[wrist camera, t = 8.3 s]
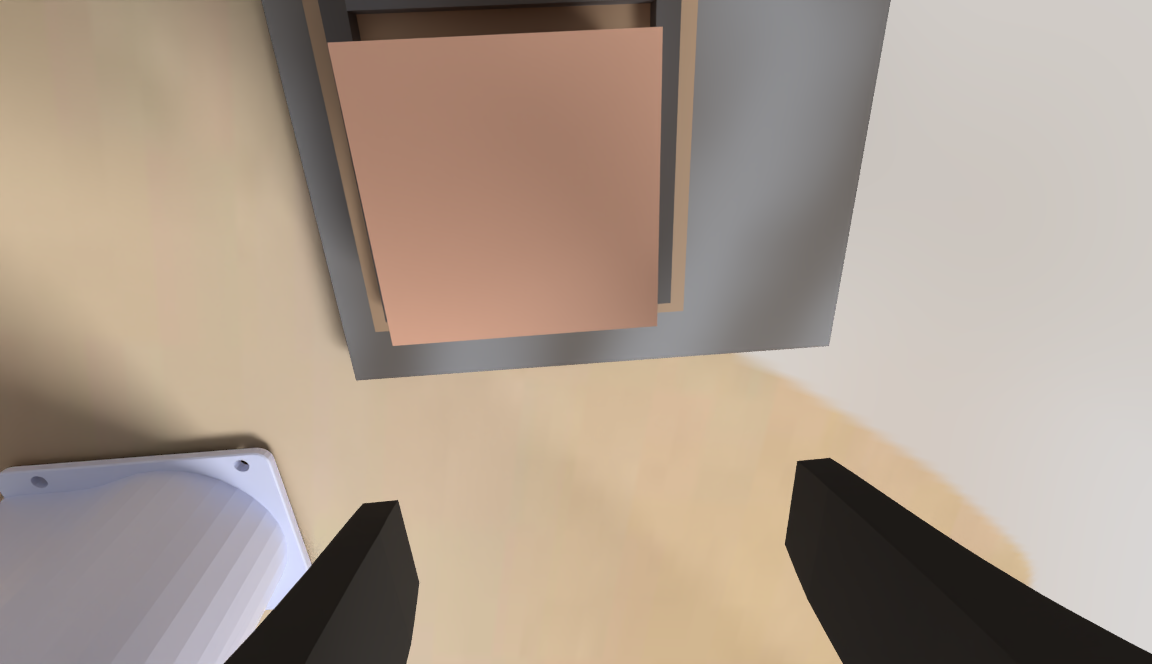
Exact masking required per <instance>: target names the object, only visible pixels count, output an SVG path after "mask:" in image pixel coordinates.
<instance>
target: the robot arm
mask: <svg viewBox="0 0 1152 664" xmlns="http://www.w3.org/2000/svg"><path fill="white" fill-rule="evenodd" d="M240 460H244V461H245V462H247V463H248V464H249V465H247V464H244V463H242V462H241V461H240ZM0 492H1V494H2V495H3V497H4V499H3V500H2V501H0V664H406V662H407V658H408V654H409V650H410V646H411V640H412V633H413V627H414V620H415V612H416V604H417V596H418V588H419V580H418V576H417V572H416V568H415V564H414V560H413V556H412V553H411V549H410V545H409V541H408V537H407V533H406V529H405V525H404V521H403V518H402V514H401V510H400V506H399V502H398V500H395V501H385V502H375V503H364V504H362V506H361V507H360V508H359V509H358V510H357V511H356V512H355V513H354V515H353V516H352V517H351V518H350V519H349V521H348V522H347V523H346V524H345V525H344V527H343V528H342V529H341V530H340V531H339V533H338V534H337V535H336V536H335V537H334V539H333V540H332V541H331V542H330V543H329V545H328V546H327V547H326V548H325V550H324V551H323V552H322V553H321V554H320V556H319V557H318V558H317V559H316V560H315V562H314V563H313V564H311V562H310V559H309V556H308V553H307V550H306V547H305V544H304V542H303V539H302V536H301V533H300V530H299V527H298V524H297V522H296V519H295V516H294V513H293V510H292V507H291V504H290V502H289V499H288V496H287V493H286V490H285V487H284V484H283V482H282V479H281V476H280V473H279V470H278V467H277V464H276V462H275V459H274V457H273V455H272V453H270V452H269V451H268V450H266V449H263V448H246V449H233V450H220V451H208V452H195V453H182V454H169V455H157V456H144V457H131V458H118V459H106V460H93V461H80V462H67V463H55V464H42V465H29V466H16V467H9V468H6V469H5V470H3V471H2V472H0ZM785 546H786V548H787V551H788V553H789V556H790V558H791V561H792V563H793V566H794V568H795V571H796V573H797V576H798V578H799V580H800V583H801V585H802V587H803V590H804V592H805V594H806V597H807V599H808V601H809V603H810V605H811V606H812V608H813V610H814V612H815V614H816V616H817V618H818V619H819V621H820V623H821V625H822V627H823V628H824V630H825V632H826V634H827V636H828V638H829V639H830V641H831V643H832V645H833V647H834V648H835V650H836V652H837V654H838V656H839V657H840V659H841V661H842V663H843V664H1152V654H1151V653H1149V652H1147V651H1145V650H1143V649H1141V648H1139V647H1137V646H1135V645H1133V644H1131V643H1129V642H1128V641H1126V640H1123V639H1122V638H1120V637H1118V636H1116V635H1114V634H1113V633H1111V632H1109V631H1107V630H1105V629H1103V628H1102V627H1100V626H1098V625H1096V624H1094V623H1092V622H1090V621H1089V620H1087V619H1085V618H1082V617H1081V616H1079V615H1077V614H1075V613H1074V612H1072V611H1070V610H1068V609H1066V608H1065V607H1063V606H1061V605H1059V604H1057V603H1056V602H1054V601H1052V600H1051V599H1049V598H1047V597H1045V596H1043V595H1041V594H1040V593H1038V592H1037V591H1035V590H1033V589H1031V588H1030V587H1028V586H1026V585H1025V584H1023V583H1022V582H1020V581H1018V580H1017V579H1015V578H1013V577H1012V576H1010V575H1008V574H1007V573H1005V572H1003V571H1002V570H1000V569H998V568H997V567H995V566H993V565H992V564H990V563H988V562H987V561H985V560H984V559H982V558H980V557H979V556H977V555H976V554H974V553H972V552H971V551H969V550H968V549H966V548H965V547H963V546H961V545H960V544H958V543H957V542H955V541H954V540H952V539H951V538H949V537H948V536H946V535H944V534H943V533H941V532H940V531H938V530H937V529H935V528H934V527H932V526H931V525H929V524H928V523H926V522H925V521H923V520H922V519H920V518H919V517H917V516H916V515H914V514H913V513H911V512H910V511H908V510H907V509H905V508H904V507H902V506H901V505H900V504H898V503H897V502H895V501H894V500H892V499H891V498H889V497H888V496H886V495H885V494H883V493H882V492H880V491H879V490H878V489H876V488H875V487H873V486H872V485H870V484H869V483H867V482H866V481H864V480H863V479H861V478H860V477H858V476H857V475H855V474H854V473H853V472H851V471H850V470H848V469H846V468H845V467H843V466H842V465H840V464H839V463H837V462H836V461H834V460H832V459H831V458H824V459H814V460H804V461H797V466H796V473H795V480H794V487H793V493H792V500H791V507H790V513H789V520H788V527H787V534H786V540H785ZM269 609H273V610H272V612H271V613H270V614H269V615H268V616H267V617H266V618H265V619H264V621H263V622H262V623H261V624H260V625H259V626H258V627H257V625H258V623H259V621H260V619H261V617H262V615H263V613H264V611H265V610H269ZM256 627H257V628H256Z"/></svg>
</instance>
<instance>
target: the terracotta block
mask: <svg viewBox="0 0 1152 664" xmlns="http://www.w3.org/2000/svg"><path fill="white" fill-rule="evenodd" d="M662 43H663V27H645V28H624V29H603V30H582V31H561V32H540V33H519V34H498V35H477V36H456V37H435V38H414V39H394V40H373V41H352V42H331V43H327V44H328V49H329V54H330V58H331V63H332V67H333V72H334V77H335V81H336V86H337V90H338V95H339V100H340V104H341V109H342V114H343V118H344V123H345V127H346V132H347V137H348V141H349V146H350V151H351V155H352V160H353V164H354V169H355V174H356V178H357V183H358V188H359V192H360V197H361V201H362V206H363V211H364V215H365V220H366V225H367V229H368V234H369V238H370V243H371V248H372V252H373V257H374V262H375V266H376V271H377V275H378V280H379V285H380V289H381V294H382V299H383V303H384V308H385V312H386V317H387V322H388V326H389V331H390V336H391V340H392V345H393V346H400V345H413V344H426V343H439V342H453V341H466V340H479V339H493V338H506V337H519V336H533V335H546V334H559V333H572V332H586V331H599V330H612V329H626V328H639V327H652V326H657V307H658V254H659V201H660V149H661V96H662Z"/></svg>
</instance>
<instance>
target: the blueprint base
mask: <svg viewBox="0 0 1152 664" xmlns="http://www.w3.org/2000/svg"><path fill="white" fill-rule="evenodd" d="M261 1H262V5H263V9H264V13H265V17H266V21H267V25H268V29H269V33H270V37H271V41H272V45H273V49H274V53H275V57H276V61H277V65H278V69H279V73H280V77H281V81H282V85H283V89H284V93H285V97H286V101H287V105H288V109H289V113H290V117H291V121H292V125H293V129H294V133H295V137H296V141H297V145H298V149H299V153H300V157H301V161H302V165H303V169H304V173H305V177H306V181H307V185H308V189H309V193H310V197H311V201H312V205H313V209H314V213H315V217H316V221H317V225H318V229H319V233H320V237H321V241H322V245H323V249H324V253H325V257H326V261H327V265H328V269H329V273H330V277H331V281H332V285H333V289H334V293H335V297H336V301H337V305H338V309H339V313H340V317H341V321H342V325H343V329H344V333H345V338H346V342H347V346H348V350H349V354H350V358H351V362H352V366H353V370H354V374H355V378H356V380H368V379H382V378H396V377H409V376H423V375H437V374H451V373H464V372H478V371H492V370H505V369H519V368H533V367H547V366H560V365H574V364H588V363H601V362H615V361H629V360H643V359H656V358H670V357H684V356H697V355H711V354H725V353H739V352H752V351H766V350H780V349H793V348H807V347H820V346H829V342H830V336H831V331H832V326H833V320H834V314H835V309H836V303H837V297H838V292H839V286H840V281H841V275H842V269H843V264H844V259H845V253H846V247H847V242H848V236H849V230H850V225H851V219H852V213H853V208H854V202H855V197H856V191H857V186H858V180H859V175H860V169H861V163H862V158H863V151H864V146H865V141H866V135H867V130H868V124H869V119H870V113H871V107H872V101H873V96H874V90H875V85H876V79H877V73H878V68H879V62H880V57H881V51H882V46H883V40H884V34H885V29H886V22H887V17H888V12H889V7H890V1H891V0H261ZM645 27H663V43H662V96H661V149H660V201H659V254H658V307H657V326H652V327H639V328H626V329H612V330H599V331H586V332H572V333H559V334H546V335H533V336H519V337H506V338H493V339H479V340H466V341H453V342H439V343H426V344H413V345H400V346H393V345H392V340H391V336H390V331H389V326H388V322H387V317H386V312H385V308H384V303H383V299H382V294H381V289H380V285H379V280H378V275H377V271H376V266H375V262H374V257H373V252H372V248H371V243H370V238H369V234H368V229H367V225H366V220H365V215H364V211H363V206H362V201H361V197H360V192H359V188H358V183H357V178H356V174H355V169H354V164H353V160H352V155H351V151H350V146H349V141H348V137H347V132H346V127H345V123H344V118H343V114H342V109H341V104H340V100H339V95H338V90H337V86H336V81H335V77H334V72H333V67H332V63H331V58H330V54H329V49H328V44H327V43H331V42H352V41H373V40H394V39H414V38H435V37H456V36H477V35H498V34H519V33H540V32H561V31H582V30H603V29H624V28H645Z"/></svg>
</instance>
